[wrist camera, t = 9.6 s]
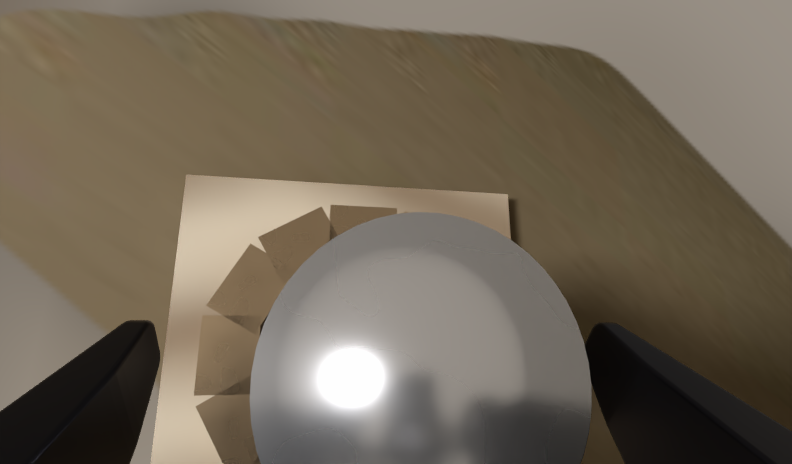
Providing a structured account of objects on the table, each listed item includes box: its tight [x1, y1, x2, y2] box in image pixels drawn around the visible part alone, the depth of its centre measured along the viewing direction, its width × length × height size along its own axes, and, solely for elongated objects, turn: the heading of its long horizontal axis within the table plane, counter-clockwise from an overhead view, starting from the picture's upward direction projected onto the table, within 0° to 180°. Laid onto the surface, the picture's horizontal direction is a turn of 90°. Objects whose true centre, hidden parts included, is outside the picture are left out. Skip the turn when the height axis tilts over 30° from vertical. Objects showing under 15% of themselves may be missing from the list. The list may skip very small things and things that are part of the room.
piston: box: [250, 212, 591, 464], centre depth 11 cm, size 5×5×12 cm
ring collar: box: [194, 205, 408, 464], centre depth 16 cm, size 10×10×3 cm
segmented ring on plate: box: [151, 175, 511, 464], centre depth 18 cm, size 14×14×1 cm
